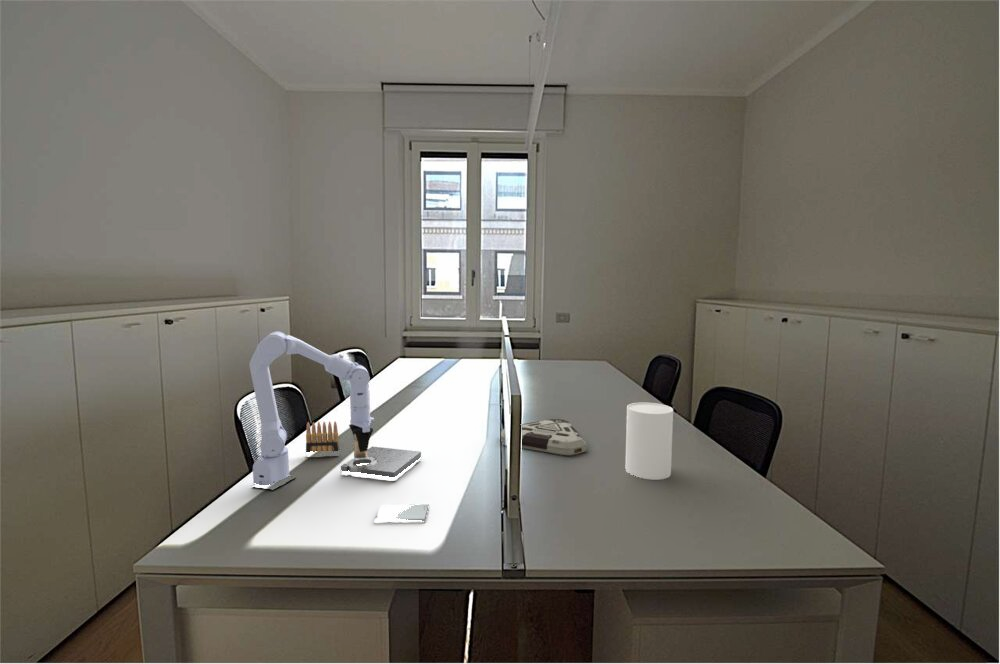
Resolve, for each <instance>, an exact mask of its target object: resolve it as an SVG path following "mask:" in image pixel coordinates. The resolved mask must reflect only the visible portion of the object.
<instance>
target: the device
mask: <svg viewBox="0 0 1000 664" xmlns="http://www.w3.org/2000/svg"><path fill="white" fill-rule="evenodd" d="M521 424H522V449H521V450H527V451H528V450H529V451H533V452H537V453H538V452H539V453H543V452H544V453H545V454H549V455H550V454H551V455H555V454H556V456H560V455H562V456H561V457H574V456H577V454H578V455H581V453H582V454H585V453H587V442H586V440H584V438H583V437H582V435H581V434H580V433H579V431H578V430H577V429H576V427H574V425H573V424H572V423H570V422H569V420H566V419H561V418H556V419H555V418H550V419H545V420H540V421H539V420H538V421H533V422H527V423H521ZM504 439H505V428H503V429H502V430H501V431H500V443H501V442H502V443H503V442H504ZM502 443H501V444H502ZM523 448H524V449H523ZM573 455H574V456H573Z"/></svg>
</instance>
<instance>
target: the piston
mask: <svg viewBox="0 0 1000 664" xmlns="http://www.w3.org/2000/svg"><path fill="white" fill-rule="evenodd" d="M368 449H369V448H368ZM368 449H367V451H363V452H360V450H359V446H358V441H357V438H356V435H355V434H354V436H353V458H365V457H367V455H368Z"/></svg>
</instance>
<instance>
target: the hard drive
mask: <svg viewBox="0 0 1000 664" xmlns="http://www.w3.org/2000/svg"><path fill="white" fill-rule="evenodd" d="M413 505H414V506H411V508H410V507H409V509H407V510H406V511H405V510H404V511H403V512H402V513H401V512H400V513H401V514H400V513H399V514H398V517H396V518H398V519H399V518H400V519H406V520H407V519H408V520H422V521H425V519H426V520H427V517H426V515H427V516H428V513H427V511H429V509H428V506H429V507H430V505H429V504H428V503H426V504H421V503H420V505H415V504H413ZM425 522H426V521H425Z"/></svg>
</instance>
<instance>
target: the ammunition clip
mask: <svg viewBox="0 0 1000 664" xmlns="http://www.w3.org/2000/svg"><path fill="white" fill-rule="evenodd" d="M327 425H328V426H327ZM327 425H326V422H325V421H323V423H322V426H321V423H320V421H318V422H317V425H316V424H315V422H314V421H313V422H312V425H310V422H309V421H307V423H306V427H305V428H306V431H305V432H306V434H305V441H306V443H305V453H306V452H310V451H313V452H315V451H319V452H320V451H333V452H334V451H338V450H340V442H339V432H338V423H337V422H336V421H334V422H333V427H332V422H331V421H329V422H328V424H327ZM316 427H317V429H316ZM332 428H333V430H332Z"/></svg>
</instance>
